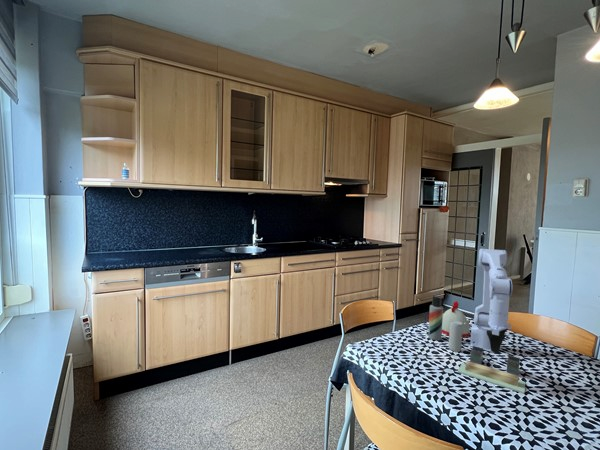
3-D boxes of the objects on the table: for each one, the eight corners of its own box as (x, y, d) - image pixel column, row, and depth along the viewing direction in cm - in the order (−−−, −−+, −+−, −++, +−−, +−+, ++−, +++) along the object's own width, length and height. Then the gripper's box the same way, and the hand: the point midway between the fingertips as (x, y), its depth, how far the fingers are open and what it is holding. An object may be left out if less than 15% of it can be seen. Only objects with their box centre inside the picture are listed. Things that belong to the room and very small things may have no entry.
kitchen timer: (472, 332, 153) (474, 302, 152) (464, 340, 143) (466, 308, 142) (443, 324, 163) (445, 296, 162) (434, 331, 153) (435, 301, 152)
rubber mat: (457, 372, 114) (457, 371, 114) (462, 364, 120) (462, 362, 120) (524, 393, 101) (524, 392, 101) (525, 383, 108) (525, 382, 108)
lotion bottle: (425, 335, 147) (428, 294, 146) (437, 335, 147) (439, 294, 146) (432, 340, 141) (434, 297, 140) (443, 340, 142) (446, 298, 140)
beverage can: (462, 353, 130) (464, 325, 129) (450, 351, 131) (452, 323, 130) (459, 348, 134) (460, 321, 134) (447, 346, 135) (448, 320, 135)
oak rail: (465, 370, 114) (465, 363, 114) (466, 367, 117) (467, 360, 117) (517, 386, 104) (518, 379, 104) (518, 382, 107) (518, 376, 107)
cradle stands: (469, 362, 121) (470, 349, 121) (472, 358, 125) (472, 345, 125) (518, 377, 112) (519, 363, 111) (518, 371, 116) (519, 358, 115)
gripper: (510, 319, 102) (507, 359, 103) (513, 309, 114) (511, 345, 115) (486, 314, 107) (483, 352, 108) (491, 305, 118) (489, 339, 119)
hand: (496, 348), depth 111 cm, fingers open, 7 cm apart
